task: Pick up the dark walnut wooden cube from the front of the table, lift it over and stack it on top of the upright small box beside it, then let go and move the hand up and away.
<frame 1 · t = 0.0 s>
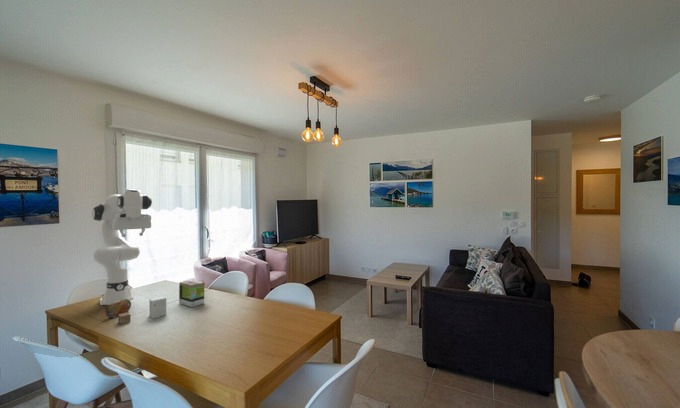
hand: (132, 236, 182), 48 cm above the table, tool pointing down, fingers open, 8 cm apart
tin: (118, 315, 177), on the table
tea box: (191, 303, 198), on the table
small box: (157, 315, 176), on the table
walnut cube: (124, 322, 166), on the table
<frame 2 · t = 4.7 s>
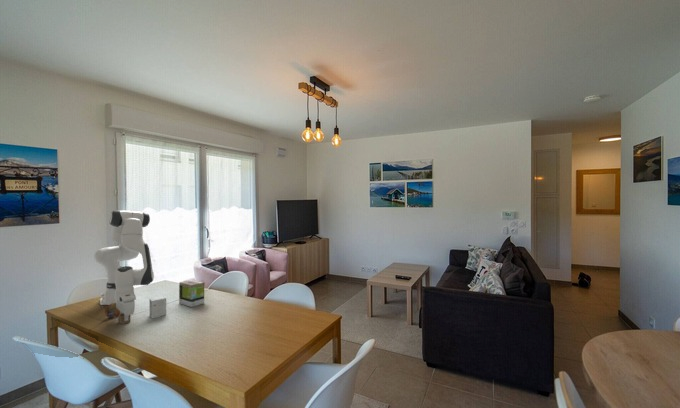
hand: (124, 319, 166), 2 cm above the table, tool pointing down, fingers closed on walnut cube, 4 cm apart
walnut cube: (124, 322, 166), on the table, touching gripper
everything else where it was.
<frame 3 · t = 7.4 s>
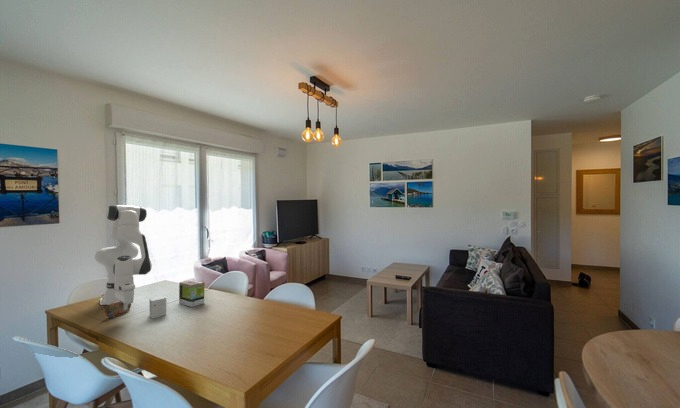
hand: (123, 308, 166), 8 cm above the table, tool pointing down, fingers closed on walnut cube, 4 cm apart
walnut cube: (123, 311, 166), point 6 cm above the table, touching gripper
everything else where it was.
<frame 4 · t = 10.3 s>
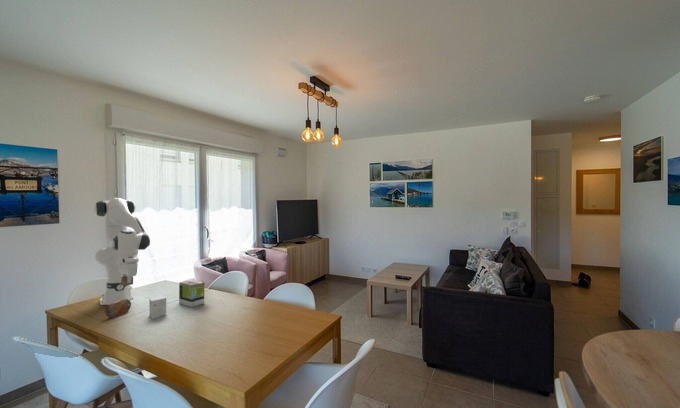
hand: (127, 281, 167), 23 cm above the table, tool pointing down, fingers closed on walnut cube, 4 cm apart
walnut cube: (127, 284, 167), point 21 cm above the table, touching gripper
everything else where it was.
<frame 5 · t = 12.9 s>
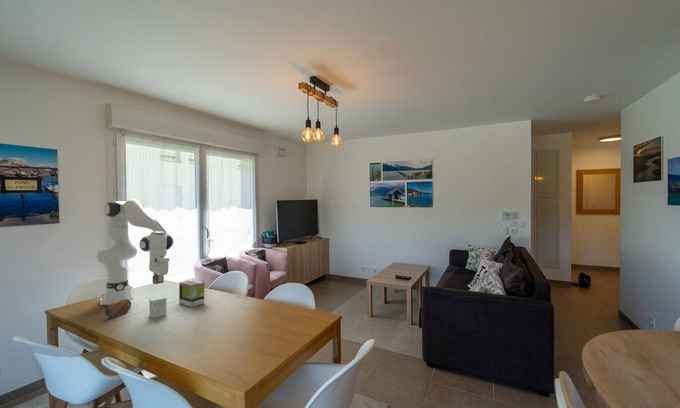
hand: (158, 280, 176), 22 cm above the table, tool pointing down, fingers closed on walnut cube, 4 cm apart
walnut cube: (158, 282, 176), point 20 cm above the table, touching gripper
everything else where it was.
when the fingers open (14 cm above the table, at t = 15.5 s): walnut cube drops 2 cm, resting on small box.
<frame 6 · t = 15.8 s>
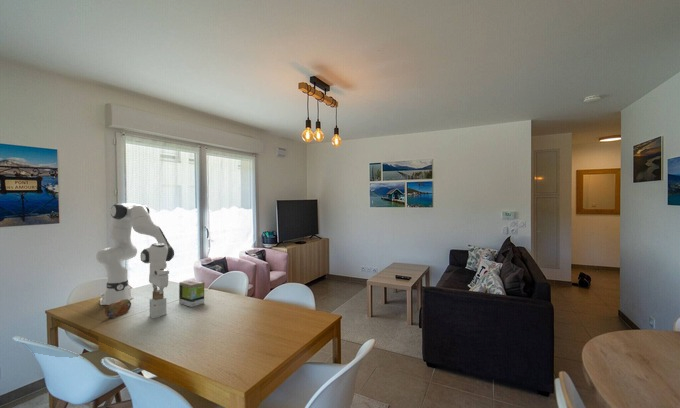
hand: (158, 292, 176), 14 cm above the table, tool pointing down, fingers open, 7 cm apart
small box: (158, 315, 176), on the table, touching walnut cube
walnut cube: (158, 298, 176), point 10 cm above the table, touching small box
everything else where it was.
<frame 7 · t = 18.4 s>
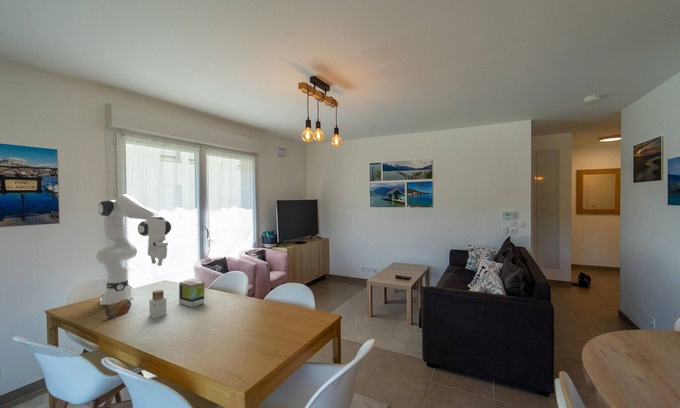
hand: (156, 264, 177), 31 cm above the table, tool pointing down, fingers open, 8 cm apart
nothing on the table moved.
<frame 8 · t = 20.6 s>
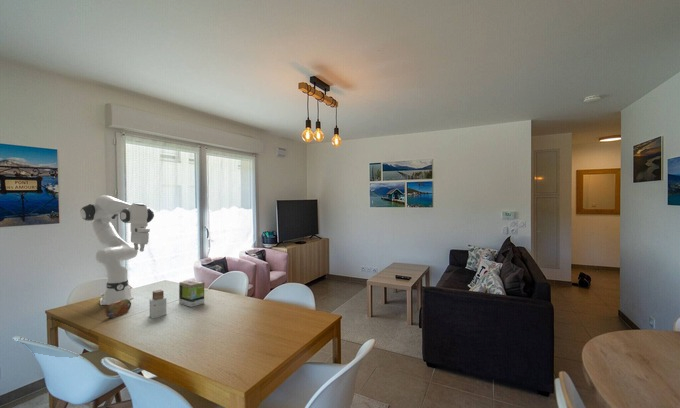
hand: (139, 250, 180), 39 cm above the table, tool pointing down, fingers open, 8 cm apart
nothing on the table moved.
at the end: walnut cube 0.0 cm off-centre on the small box, point 10.7 cm above the small box's base; walnut cube tilted 0°; small box tilted 0° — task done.
